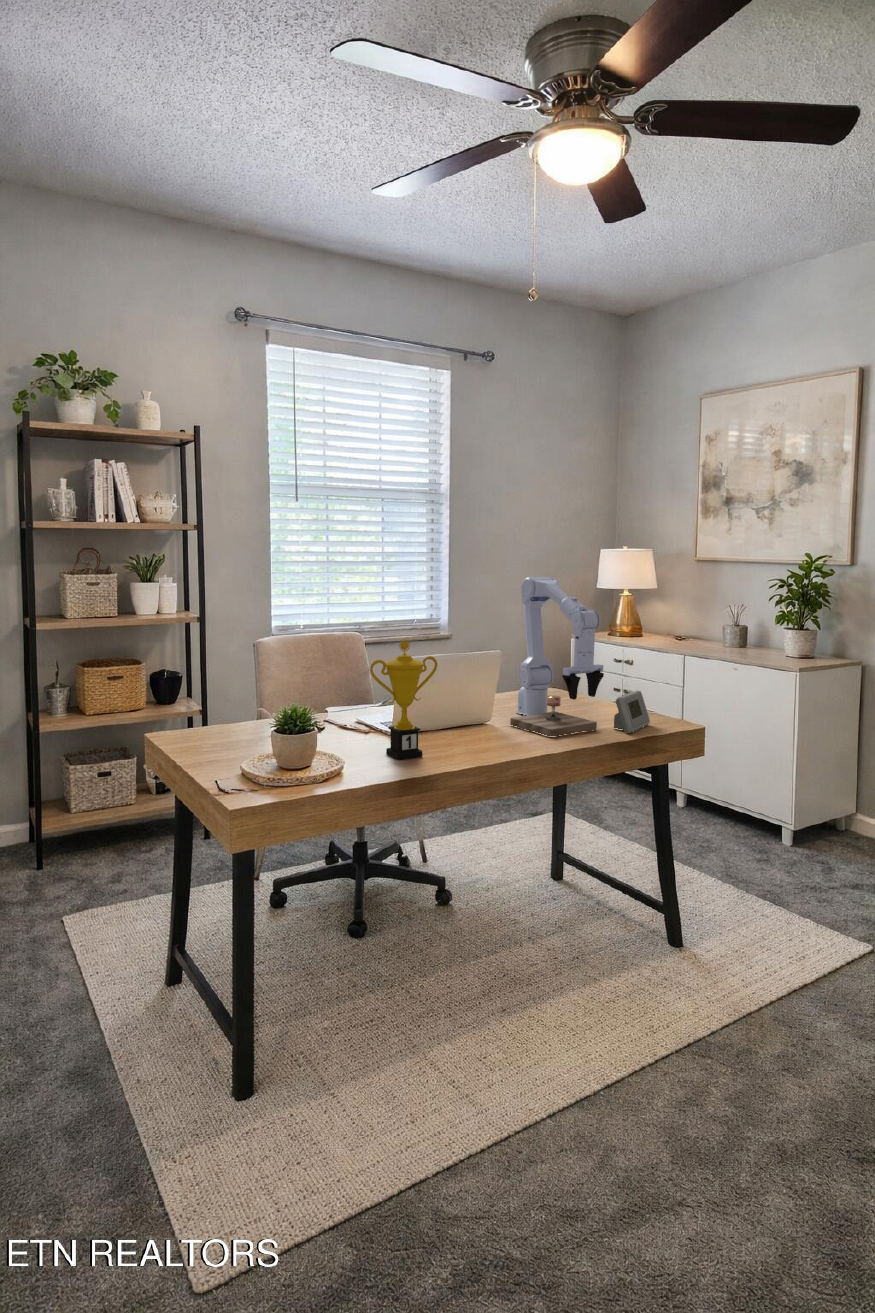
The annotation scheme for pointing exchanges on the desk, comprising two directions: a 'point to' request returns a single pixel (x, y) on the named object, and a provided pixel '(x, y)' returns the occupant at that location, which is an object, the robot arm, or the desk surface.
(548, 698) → the plunger
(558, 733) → the block
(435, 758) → the desk surface
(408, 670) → the trophy
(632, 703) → the digital clock
